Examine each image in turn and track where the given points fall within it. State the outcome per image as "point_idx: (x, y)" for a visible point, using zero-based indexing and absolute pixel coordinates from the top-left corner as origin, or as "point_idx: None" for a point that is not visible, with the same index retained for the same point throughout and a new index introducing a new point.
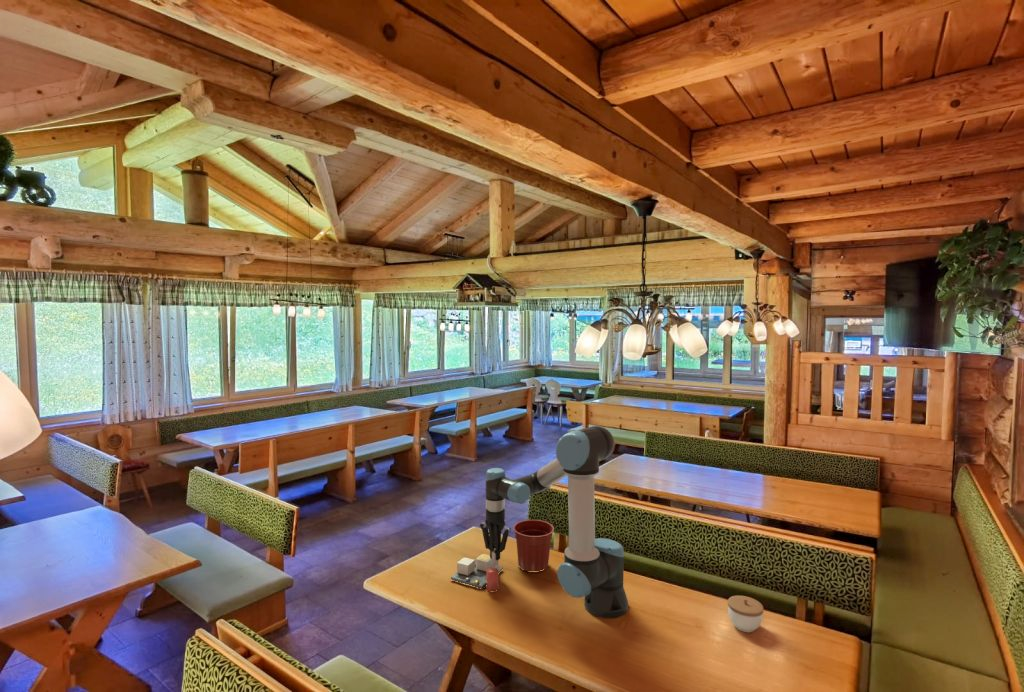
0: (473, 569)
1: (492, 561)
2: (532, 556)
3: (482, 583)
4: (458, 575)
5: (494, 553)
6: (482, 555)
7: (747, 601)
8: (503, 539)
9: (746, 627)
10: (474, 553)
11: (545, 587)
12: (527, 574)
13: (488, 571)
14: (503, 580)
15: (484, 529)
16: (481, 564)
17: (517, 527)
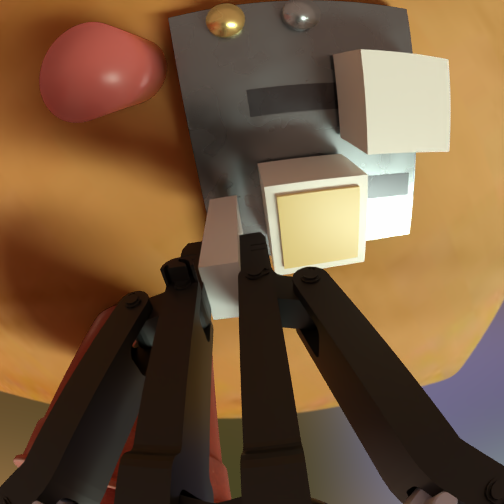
0: (342, 122)
1: (230, 217)
2: (74, 366)
3: (186, 39)
4: (384, 38)
5: (205, 261)
6: (351, 240)
7: None
8: (60, 415)
9: None
10: (425, 288)
11: (5, 254)
12: (111, 291)
13: (98, 38)
14: (147, 180)
15: (422, 472)
16: (310, 169)
17: (226, 496)
